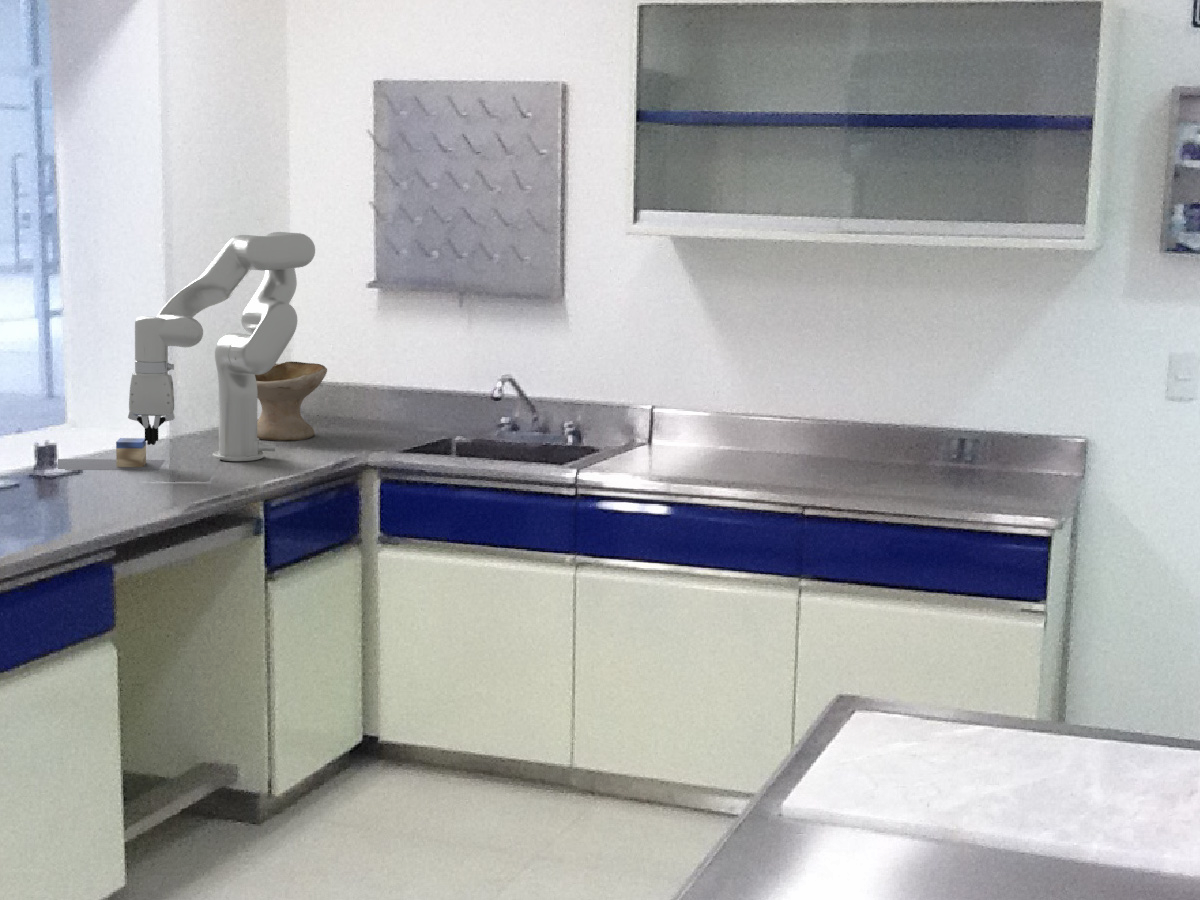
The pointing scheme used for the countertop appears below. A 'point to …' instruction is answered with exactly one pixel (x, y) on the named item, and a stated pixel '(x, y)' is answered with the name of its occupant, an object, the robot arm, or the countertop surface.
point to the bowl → (286, 400)
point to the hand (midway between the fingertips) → (151, 443)
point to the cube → (131, 452)
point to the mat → (104, 464)
